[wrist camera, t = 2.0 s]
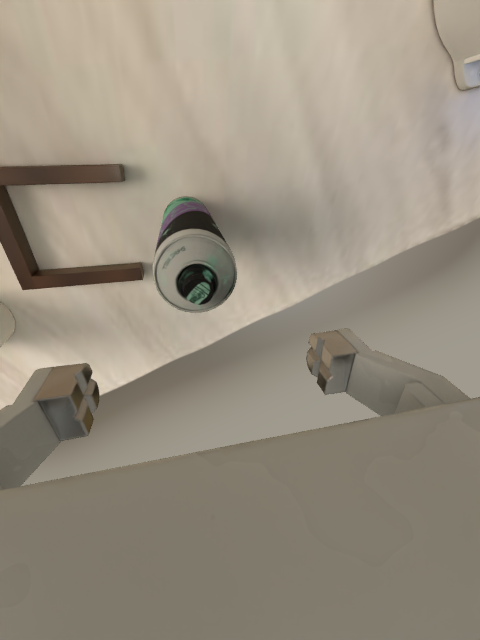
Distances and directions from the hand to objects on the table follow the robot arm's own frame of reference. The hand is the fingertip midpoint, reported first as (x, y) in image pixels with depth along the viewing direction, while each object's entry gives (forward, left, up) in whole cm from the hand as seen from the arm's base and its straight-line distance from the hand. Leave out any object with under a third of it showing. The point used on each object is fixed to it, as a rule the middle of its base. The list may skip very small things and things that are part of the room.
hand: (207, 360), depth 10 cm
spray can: (0, 0, -26) cm, 26 cm away
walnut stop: (+12, 0, -26) cm, 29 cm away
